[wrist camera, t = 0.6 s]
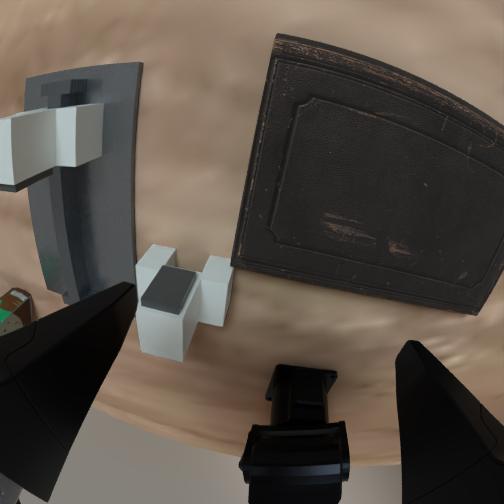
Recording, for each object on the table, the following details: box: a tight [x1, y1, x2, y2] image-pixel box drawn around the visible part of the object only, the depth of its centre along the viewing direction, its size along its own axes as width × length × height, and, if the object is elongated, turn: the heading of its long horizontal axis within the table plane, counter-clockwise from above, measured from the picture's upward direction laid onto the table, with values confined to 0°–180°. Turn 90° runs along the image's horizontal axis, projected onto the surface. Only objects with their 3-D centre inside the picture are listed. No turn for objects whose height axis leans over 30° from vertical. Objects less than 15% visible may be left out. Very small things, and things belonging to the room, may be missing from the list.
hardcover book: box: [230, 33, 504, 316], centre depth 18 cm, size 16×23×2 cm
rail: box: [24, 62, 143, 317], centre depth 20 cm, size 22×12×3 cm, turn 172°
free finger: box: [136, 244, 235, 363], centre depth 20 cm, size 5×7×8 cm
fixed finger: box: [0, 104, 104, 192], centre depth 15 cm, size 5×7×8 cm
